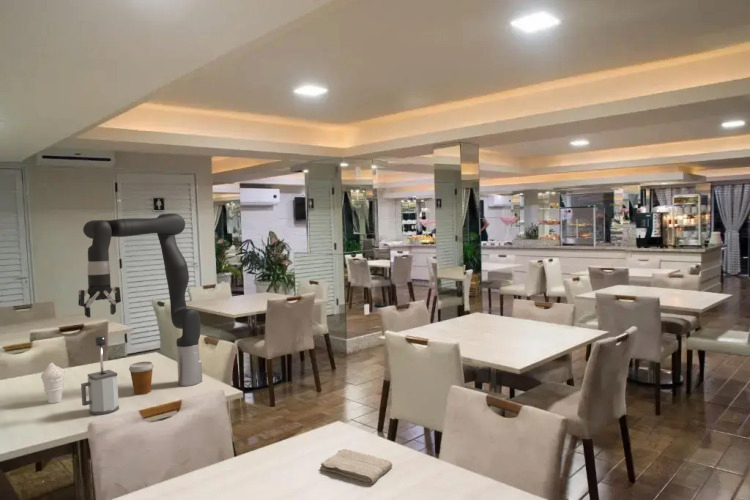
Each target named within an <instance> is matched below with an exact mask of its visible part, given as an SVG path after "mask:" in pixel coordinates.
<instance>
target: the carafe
mask: <svg viewBox="0 0 750 500" xmlns="http://www.w3.org/2000/svg"><path fill="white" fill-rule="evenodd" d="M118 383H119V382H118V372H116V371H113V370H111V369H106V370H104V374H103V375H101V371H96V372H92V373H87V382H83V383H80V387H81V389H80V390H81V403H82V406H84V407H85V406H87V405H88V407H89V408H88V409H89V414H90V415H92V416H102V415H108V414H113V413H115V412H117V411H118V410H119V409H120V407H119V406H120V404H119V387H118V385H119V384H118ZM87 390H88V391H87ZM87 392H88V400H87Z"/></svg>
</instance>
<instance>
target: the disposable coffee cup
mask: <svg viewBox="0 0 750 500" xmlns="http://www.w3.org/2000/svg"><path fill="white" fill-rule="evenodd" d="M153 368H154V364H153V362H151V361H138V362H134V363H131V364H130V365H129V368H128V370H129V372H130V376H131V377H130V378H131V381H132V386H133V388H132V389H133V393H134V395H137V396H140V395H142V396H143V395H146V394H149V393H151V391H152V378H153Z"/></svg>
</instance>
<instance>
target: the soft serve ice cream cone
mask: <svg viewBox="0 0 750 500" xmlns="http://www.w3.org/2000/svg"><path fill="white" fill-rule="evenodd" d="M65 375H66V372H65V370H64V369H63V368H62V367H60V366H58V365H56V364H54V362H50V363H48V364H47V366H46V369H45V370H44V371H43V372H42V373H41V376H40V379H41V381H42V383H43V388H44V390H43V391H44V393H45V395H46V398H47V402H48V404H51V403H52V404H58V403H60V402H61V401H62V395H63V391H64V380H65ZM57 402H58V403H57Z"/></svg>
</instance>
